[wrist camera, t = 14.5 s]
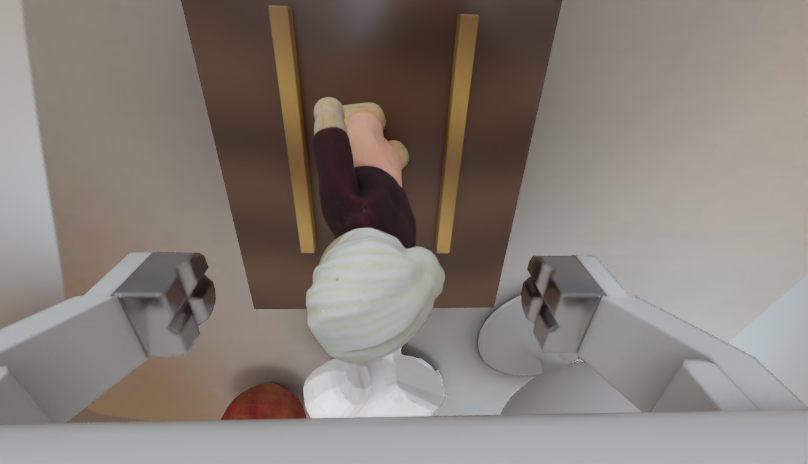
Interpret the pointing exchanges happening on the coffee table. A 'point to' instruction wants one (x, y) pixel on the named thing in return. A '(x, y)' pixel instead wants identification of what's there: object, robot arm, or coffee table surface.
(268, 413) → the fruit
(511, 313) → the chalice
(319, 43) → the box with brass rails
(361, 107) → the grandmother figurine
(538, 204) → the coffee table surface
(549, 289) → the robot arm
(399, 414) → the white low-poly sculpture
